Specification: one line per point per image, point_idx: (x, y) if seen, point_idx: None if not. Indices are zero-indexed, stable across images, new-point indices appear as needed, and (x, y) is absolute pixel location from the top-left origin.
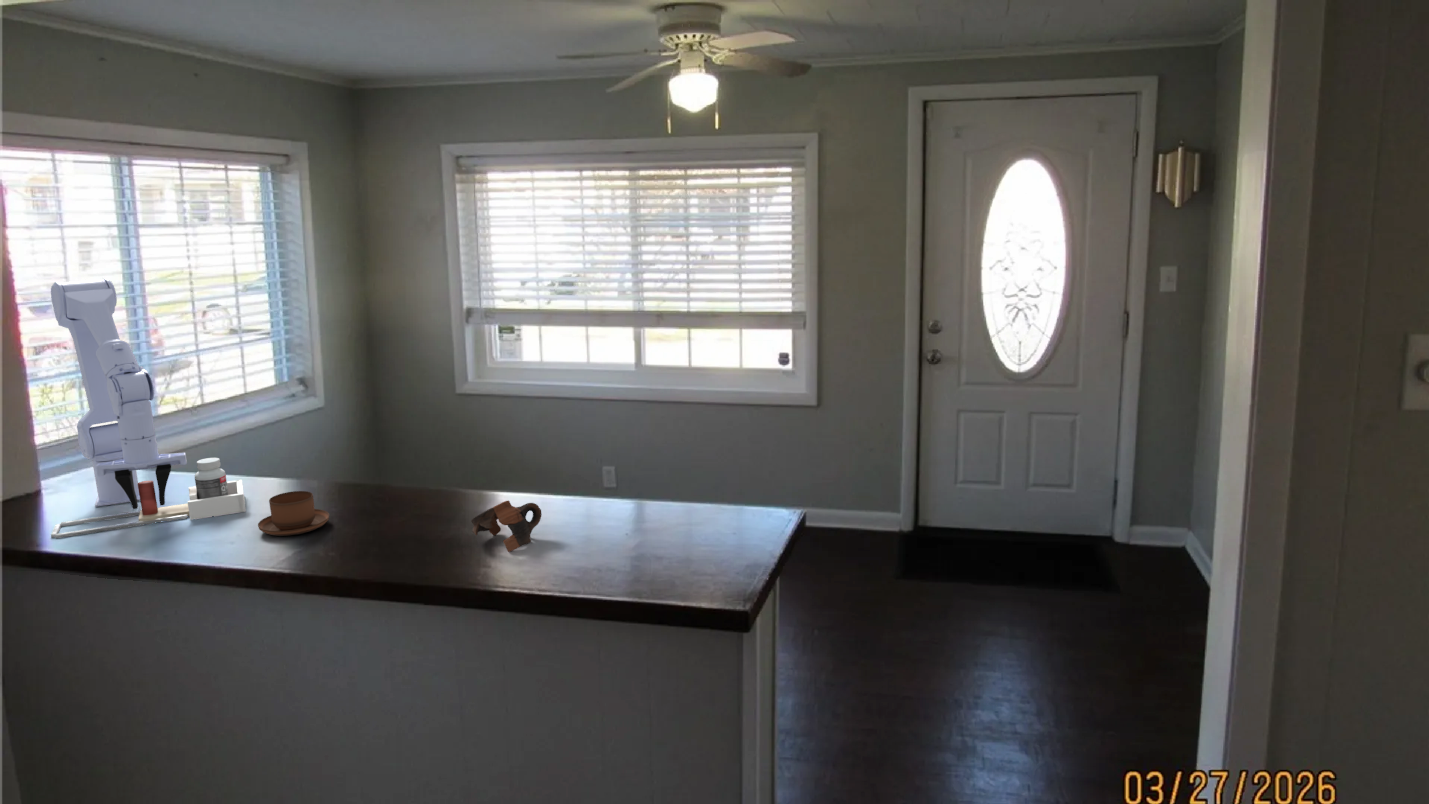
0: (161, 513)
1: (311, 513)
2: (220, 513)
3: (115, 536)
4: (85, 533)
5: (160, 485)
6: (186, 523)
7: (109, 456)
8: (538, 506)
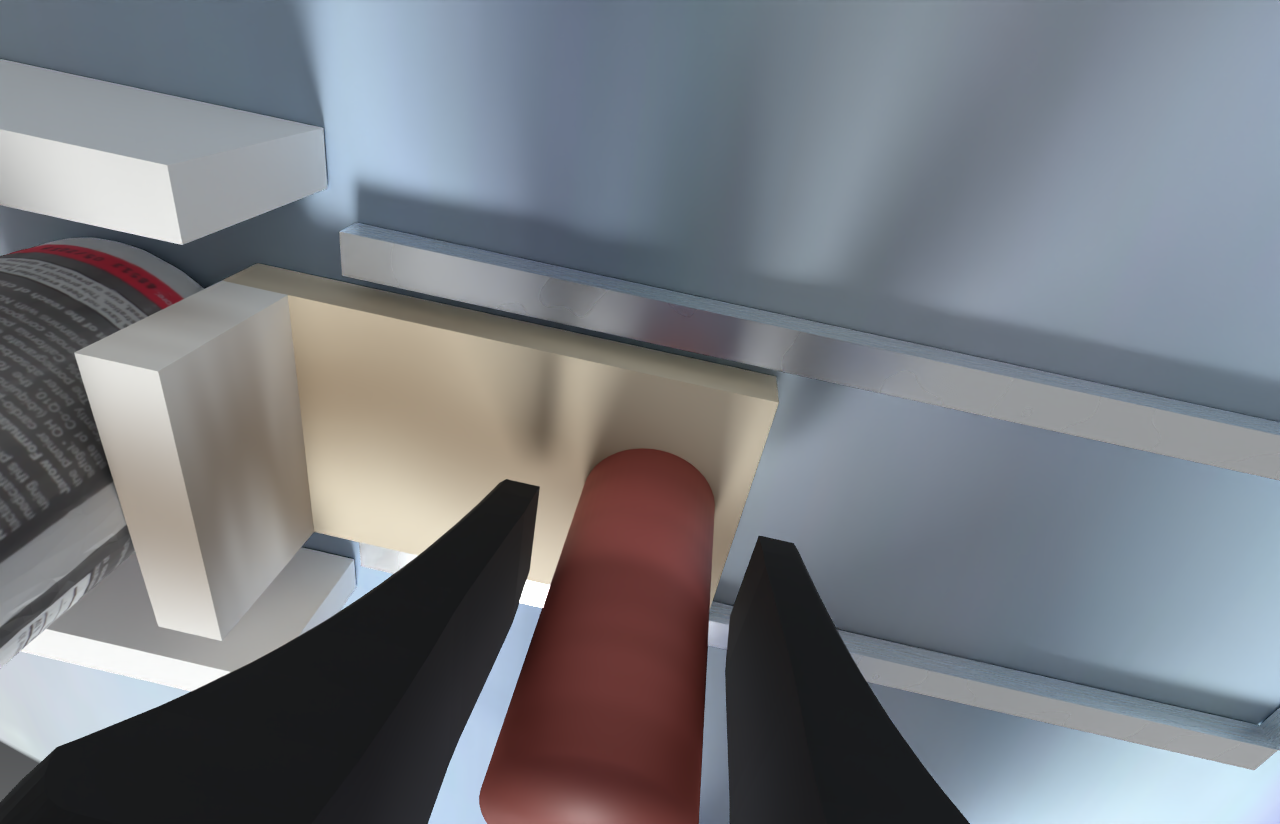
0: (561, 415)
1: None
2: (5, 64)
3: (1124, 88)
4: (1277, 423)
5: (398, 642)
6: (355, 24)
7: None
8: None
